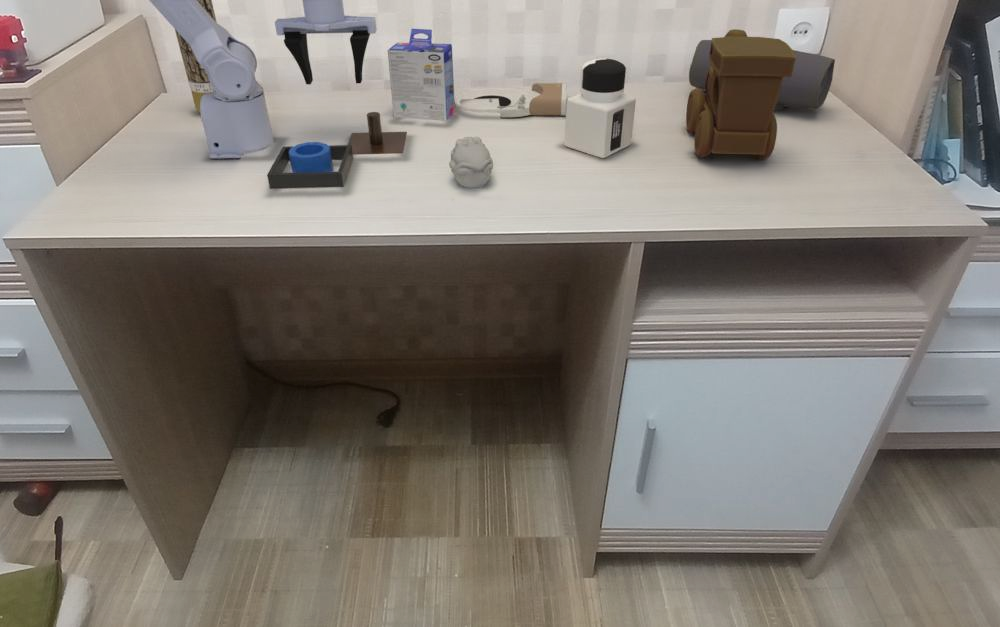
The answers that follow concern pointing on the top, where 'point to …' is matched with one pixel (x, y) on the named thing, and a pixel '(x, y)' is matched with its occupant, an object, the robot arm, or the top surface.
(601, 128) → the container
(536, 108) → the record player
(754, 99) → the wooden toy train
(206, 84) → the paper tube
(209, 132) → the robot arm
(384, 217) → the top surface
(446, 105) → the ink cartridge box
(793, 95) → the bluetooth speaker
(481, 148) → the frog figurine
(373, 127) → the tape holder
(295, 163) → the tape roll
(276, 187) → the tray
